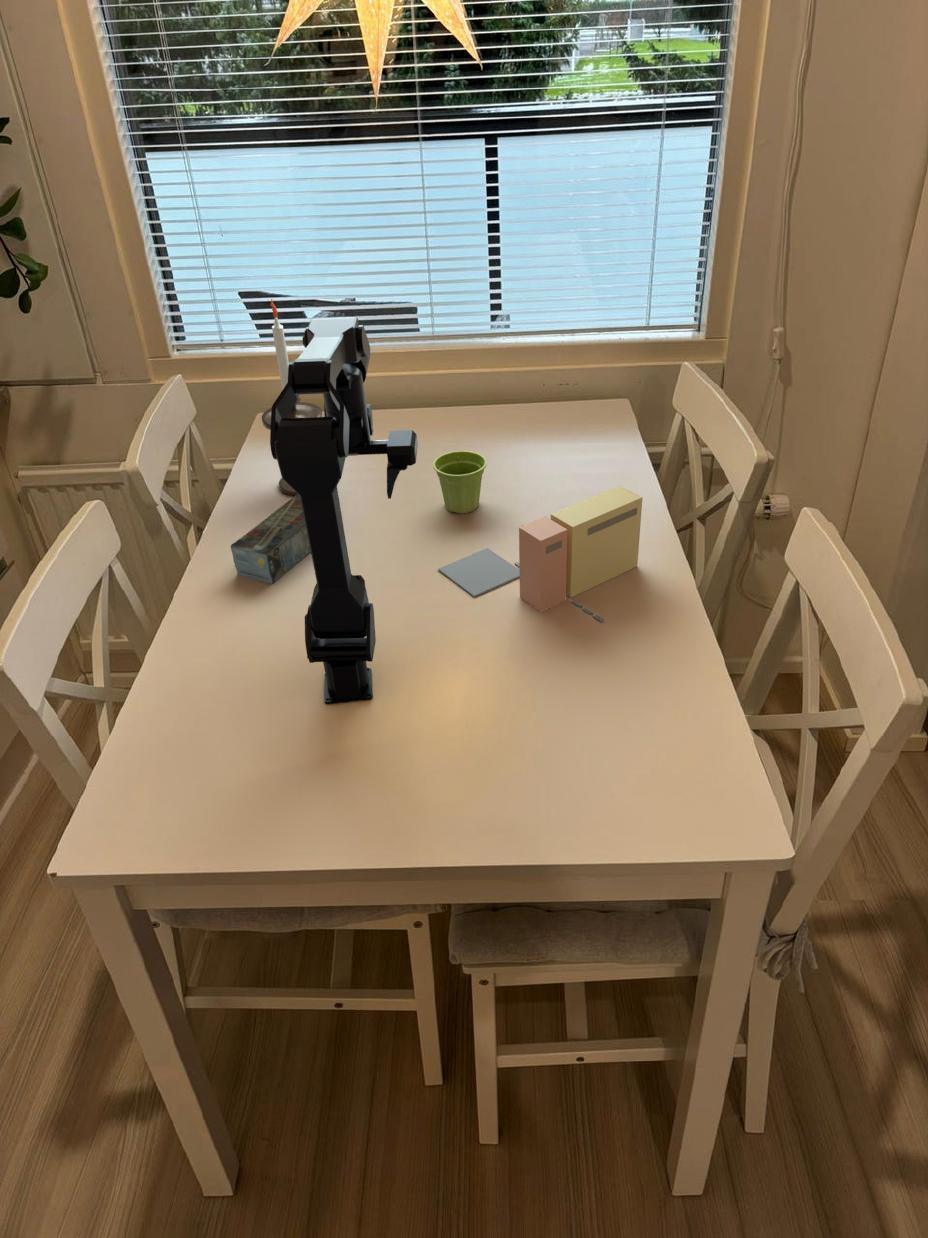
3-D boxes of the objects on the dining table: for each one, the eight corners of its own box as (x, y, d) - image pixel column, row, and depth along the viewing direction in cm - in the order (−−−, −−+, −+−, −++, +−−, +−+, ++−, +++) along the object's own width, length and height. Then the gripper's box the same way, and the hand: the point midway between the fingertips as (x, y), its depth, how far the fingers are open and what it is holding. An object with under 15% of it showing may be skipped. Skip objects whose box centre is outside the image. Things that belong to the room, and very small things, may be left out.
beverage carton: (234, 575, 152) (226, 541, 149) (302, 522, 166) (297, 489, 162) (272, 586, 149) (265, 551, 145) (339, 531, 163) (334, 497, 159)
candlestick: (268, 479, 179) (234, 296, 159) (322, 467, 183) (295, 286, 162) (283, 503, 171) (248, 313, 151) (339, 490, 175) (312, 302, 154)
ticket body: (571, 597, 142) (572, 527, 135) (549, 583, 146) (550, 513, 139) (637, 566, 149) (642, 497, 141) (615, 553, 152) (619, 485, 145)
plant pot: (496, 511, 165) (495, 467, 160) (447, 523, 163) (444, 479, 158) (476, 489, 172) (474, 446, 167) (428, 500, 170) (425, 457, 165)
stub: (540, 612, 140) (540, 541, 132) (519, 597, 143) (518, 527, 136) (565, 600, 142) (567, 529, 135) (544, 585, 145) (545, 516, 138)
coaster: (474, 597, 144) (474, 595, 144) (438, 570, 150) (438, 568, 150) (524, 574, 148) (524, 573, 148) (487, 549, 155) (487, 547, 155)
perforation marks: (601, 622, 137) (601, 621, 137) (514, 564, 151) (514, 563, 151) (604, 621, 137) (604, 620, 137) (517, 562, 151) (517, 561, 151)
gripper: (415, 375, 136) (423, 467, 146) (289, 380, 137) (306, 471, 147) (410, 413, 127) (419, 507, 138) (276, 418, 128) (295, 511, 139)
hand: (359, 498), depth 140 cm, fingers open, 9 cm apart
